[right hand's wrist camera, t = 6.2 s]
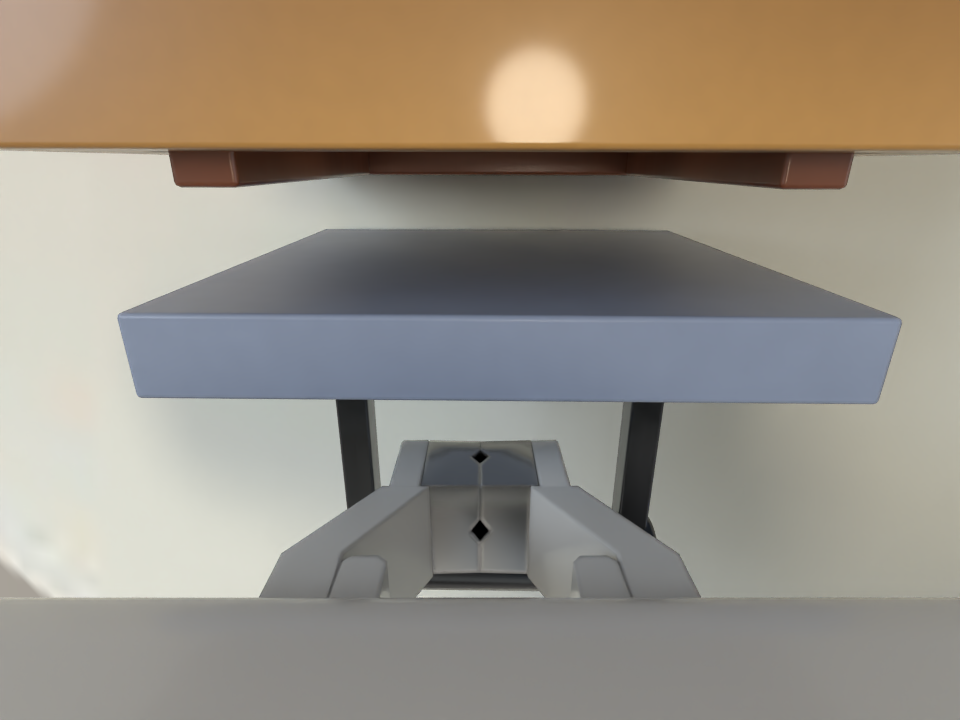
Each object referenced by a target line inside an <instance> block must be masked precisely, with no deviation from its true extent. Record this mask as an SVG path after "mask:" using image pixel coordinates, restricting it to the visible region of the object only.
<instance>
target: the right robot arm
mask: <svg viewBox="0 0 960 720" xmlns="http://www.w3.org/2000/svg"><path fill="white" fill-rule="evenodd" d="M446 573H514V574H527V576H528V578H529V579H530V580H531V581H532V582H533V584H534V585H535V586H536V587H537V589H538V590H539V591H540V592H541V594H542V595H543V596H544V597H545V598H416V596H417V595H418V594H419V593H420V592H421V590H422V589H423V588H424V587H425V585H426V584H427V583H428V582H429V581H430V579H431V578H432V577H433V574H446ZM0 720H960V598H701V596H700V594H699V592H698V590H697V588H696V586H695V584H694V582H693V581H692V579H691V577H690V575H689V573H688V571H687V569H686V567H685V565H684V563H683V561H682V559H681V557H680V555H679V554H678V553H677V552H675V551H674V550H672V549H671V548H669V547H668V546H666V545H665V544H663V543H662V542H660V541H659V540H657V539H656V538H654V537H653V536H651V535H650V534H648V533H647V532H645V531H644V530H642V529H641V528H640V527H638V526H637V525H635V524H634V523H632V522H631V521H629V520H628V519H626V518H625V517H623V516H622V515H620V514H619V513H617V512H616V511H614V510H613V509H611V508H610V507H608V506H607V505H605V504H604V503H602V502H601V501H599V500H598V499H596V498H595V497H593V496H592V495H590V494H589V493H587V492H586V491H584V490H583V489H581V488H580V487H578V486H571V485H570V482H569V478H568V475H567V471H566V468H565V464H564V461H563V457H562V454H561V450H560V447H559V444H558V441H556V440H538V441H531V440H527V441H486V442H480V441H435V440H430V441H428V440H404V441H403V442H402V443H401V446H400V450H399V453H398V457H397V461H396V464H395V468H394V471H393V475H392V478H391V482H390V485H389V486H382V487H380V488H379V489H377V490H376V491H374V492H373V493H371V494H370V495H368V496H367V497H365V498H364V499H362V500H361V501H359V502H358V503H356V504H355V505H353V506H352V507H350V508H349V509H347V510H346V511H344V512H343V513H341V514H340V515H338V516H337V517H335V518H334V519H332V520H331V521H329V522H328V523H326V524H325V525H323V526H322V527H320V528H319V529H317V530H316V531H314V532H313V533H311V534H310V535H308V536H307V537H305V538H304V539H302V540H301V541H299V542H298V543H296V544H295V545H293V546H292V547H290V548H289V549H287V550H286V551H284V552H283V553H281V555H280V557H279V559H278V561H277V563H276V565H275V567H274V569H273V571H272V573H271V575H270V577H269V579H268V581H267V583H266V585H265V587H264V589H263V590H262V592H261V594H260V596H259V598H0Z"/></svg>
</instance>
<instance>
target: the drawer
mask: <svg viewBox="0 0 960 720" xmlns="http://www.w3.org/2000/svg"><path fill="white" fill-rule="evenodd" d="M168 152H169V157H170V162H171V167H172V172H173V177H174V182H175V184H176V185H177V186H180V187H245V186H256V185H266V184H277V183H287V182H297V181H308V180H318V179H329V178H339V177H350V176H360V175H628V176H639V177H650V178H662V179H673V180H684V181H696V182H707V183H719V184H730V185H741V186H753V187H764V188H775V189H842V188H844V187H845V186H846V185H847V182H848V177H849V173H850V169H851V165H852V161H853V157H854V153H771V152H320V151H168ZM118 322H119V326H120V330H121V334H122V338H123V342H124V346H125V350H126V354H127V358H128V361H129V365H130V369H131V373H132V377H133V381H134V385H135V389H136V393H137V395H138V396H139V397H141V398H230V399H336V407H337V416H338V426H339V435H340V444H341V454H342V463H343V473H344V482H345V492H346V501H347V509H349V508H350V507H352V506H353V505H355V504H356V503H358V502H359V501H361V500H362V499H364V498H365V497H367V496H368V495H370V494H371V493H373V492H374V491H376V490H377V489H379V488H380V487H381V484H380V471H379V458H378V445H377V432H376V419H375V406H374V400H462V401H577V402H624V403H623V412H622V421H621V430H620V439H619V448H618V457H617V466H616V475H615V485H614V494H613V503H612V509H613V510H614V511H616V512H617V513H619V514H620V515H622V516H623V517H625V518H626V519H628V520H629V521H631V522H632V523H634V524H635V525H637V526H638V527H640V528H641V529H642V530H644V531H645V532H647V533H648V534H650V535H651V536H653V537H654V538H656V535H655V531H654V528H653V526H652V523H651V521H650V519H649V517H648V512H649V505H650V498H651V490H652V483H653V476H654V469H655V462H656V455H657V448H658V441H659V434H660V427H661V420H662V413H663V406H664V402H693V403H809V404H875V403H877V402H878V400H879V397H880V394H881V391H882V387H883V384H884V381H885V377H886V374H887V371H888V367H889V364H890V361H891V358H892V354H893V351H894V348H895V344H896V341H897V338H898V335H899V331H900V328H901V325H902V321H901V319H900V318H897V317H895V316H892V315H890V314H887V313H884V312H882V311H879V310H876V309H874V308H871V307H868V306H866V305H863V304H861V303H858V302H855V301H853V300H850V299H847V298H845V297H842V296H839V295H837V294H834V293H831V292H829V291H826V290H823V289H821V288H818V287H815V286H813V285H810V284H807V283H805V282H802V281H800V280H797V279H794V278H792V277H789V276H786V275H784V274H781V273H778V272H776V271H773V270H770V269H768V268H765V267H762V266H760V265H757V264H754V263H752V262H749V261H746V260H744V259H741V258H739V257H736V256H733V255H731V254H728V253H725V252H723V251H720V250H717V249H715V248H712V247H709V246H707V245H704V244H701V243H699V242H696V241H693V240H691V239H688V238H685V237H683V236H680V235H678V234H675V233H672V232H670V231H617V230H381V229H326V230H323V231H321V232H318V233H316V234H313V235H311V236H308V237H306V238H303V239H301V240H299V241H296V242H294V243H291V244H289V245H286V246H284V247H281V248H279V249H276V250H274V251H272V252H269V253H267V254H264V255H262V256H259V257H257V258H254V259H252V260H249V261H247V262H244V263H242V264H240V265H237V266H235V267H232V268H230V269H227V270H225V271H222V272H220V273H217V274H215V275H213V276H210V277H208V278H205V279H203V280H200V281H198V282H195V283H193V284H190V285H188V286H186V287H183V288H181V289H178V290H176V291H173V292H171V293H168V294H166V295H163V296H161V297H158V298H156V299H154V300H151V301H149V302H146V303H144V304H141V305H139V306H136V307H134V308H131V309H129V310H127V311H124V312H122V313H119V315H118ZM422 590H494V591H539V590H538V589H537V587H536V586H535V585H534V584H533V582H532V581H531V580H530V579H529V578H528V576H527V574H514V573H446V574H433V577H432V578H431V579H430V581H429V582H428V583H427V584H426V585H425V587H424V588H423V589H422Z"/></svg>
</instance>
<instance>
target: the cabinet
mask: <svg viewBox="0 0 960 720" xmlns="http://www.w3.org/2000/svg"><path fill="white" fill-rule="evenodd" d="M0 150H7V151H47V152H85V153H122V154H160V155H169V152H168V151H320V152H771V153H854V156H885V155H936V154H960V0H0Z"/></svg>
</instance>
